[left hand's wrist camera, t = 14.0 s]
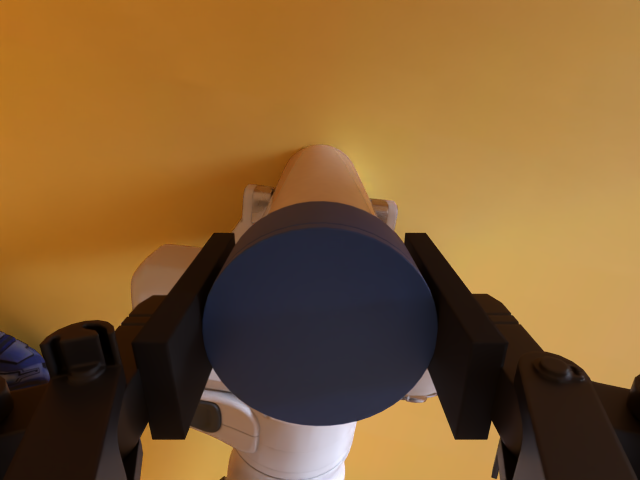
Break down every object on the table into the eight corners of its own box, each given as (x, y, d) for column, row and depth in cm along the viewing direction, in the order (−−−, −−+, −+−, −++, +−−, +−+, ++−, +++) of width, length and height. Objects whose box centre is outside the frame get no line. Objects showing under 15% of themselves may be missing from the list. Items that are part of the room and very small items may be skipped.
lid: (228, 368, 13) (209, 423, 11) (217, 196, 11) (191, 222, 9) (404, 373, 14) (420, 429, 11) (429, 204, 11) (457, 232, 9)
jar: (282, 217, 28) (226, 402, 11) (282, 142, 26) (214, 232, 9) (354, 220, 28) (406, 407, 12) (360, 146, 26) (432, 240, 10)
